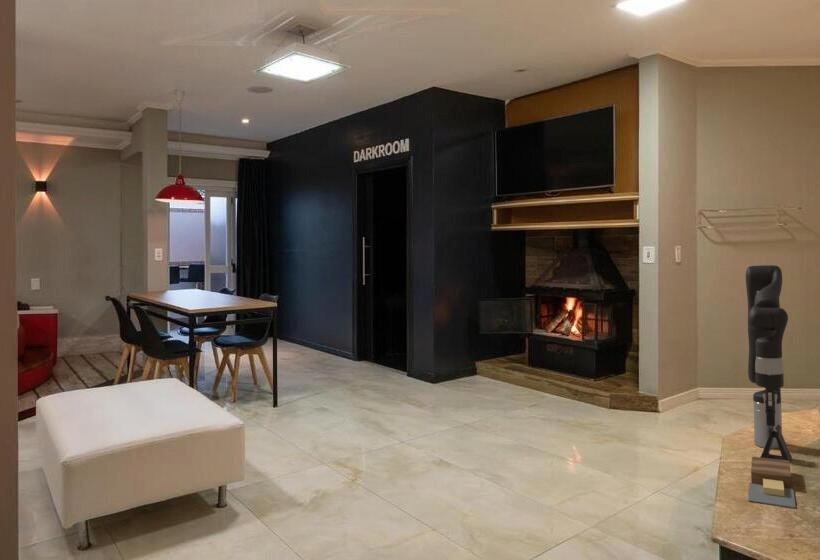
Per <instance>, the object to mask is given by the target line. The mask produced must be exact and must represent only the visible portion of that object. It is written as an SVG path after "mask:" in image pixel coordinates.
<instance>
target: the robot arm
mask: <svg viewBox="0 0 820 560" xmlns="http://www.w3.org/2000/svg"><path fill="white" fill-rule="evenodd" d="M745 286H746V288H745V289H746V296H747V335H748V336H747V337H748V363H747V365H748V366H747V367H748V368H747V375H748V379H749V382H750V383H753V384H756V385H757V386H758V387H761V388H764V389H763V390H760V391H756V392H753V395H752V396H753V397H752V398H753V399H752V401H753V428H754V429H753V431H754V432H753V434H754V435H753V436H754V437H753V438H754V439H753V440H754V445H756V446H757V447H759V448H763V449H764V448H765V445H766V443H767V441H768V438H769V435H770V434H769V430H770V428H771V427H772V426H774V427H773V429H774V430H775V431H776V432H777V430H776V429H775V428H776V427H777V425H778V424H779V425H780V426H781V433H782V434H783V423H782V422H783V420H782V417H783V416H782V415H783V414H782V393H781V390H782V389H781V388H783V387H784V386H785V384H784V383H785V381H784V380H785V377H784V361H783V340H784V334H785V331H786V327H787V325H788V321H789V315H788V313H787V311H786V310H785V309H784V308H782V307H781V305H780V298H781V297H780V296H781V292H782V288H783V287H782V286H783V272H782V269H781V267H780V266H778V265H774V264H773V265H772V264H771V265H766V264H765V265H750V266H748V267H747V268H746V271H745ZM771 449H774V450H775V449H776V450H777V449H779V446H778V443H777V439H776V438H773V442H772V445H771V448H770V450H771Z"/></svg>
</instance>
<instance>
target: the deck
mask: <svg viewBox="0 0 820 560" xmlns="http://www.w3.org/2000/svg"><path fill="white" fill-rule="evenodd" d="M760 457H761V456H760ZM760 457H759V456H751V466H750V467H751V470H750V472H751V475H750V476H751V480H750V481H751V482H750V483H754V484H761V485H763V478H764V479H772V480H780V481H783V485H784V488H791V489H793V488H792V471H791V464H790V462H791V461H790V462H789V461H787V460H778V459H769V458H760Z"/></svg>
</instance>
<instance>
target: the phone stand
mask: <svg viewBox="0 0 820 560" xmlns="http://www.w3.org/2000/svg"><path fill="white" fill-rule="evenodd" d="M773 427H774V426H772V427H771V428H770V430H769V434H770V435H769V438H768V441H767V443H766V445H765V448H763V451H762V452H761V455H760V458H769V459H778V460H787V461H789V462H791V460H792V459H793V457H792V455H791V452H790V450H789V448H788V445H787V443H786V440H785V438H784V436H783V432H782V433H781V426H780V425H779V424H778V425H777V427H776V428H775V429H776V430H777V432H776V431H775V430H774V429H773ZM773 438H776V439H777V443H778V446H779V448H778V449H779V451H780V454H781V455H780V454H779V455H777V454H772V453H770V452H771V449H770V448H771V445H772V442H773Z"/></svg>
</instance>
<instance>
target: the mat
mask: <svg viewBox="0 0 820 560" xmlns="http://www.w3.org/2000/svg"><path fill="white" fill-rule="evenodd" d="M748 485H749V486H748V488H749V489H748V502H749V501H754V502H753V503H755V502H759V503H758V504H761V503H764V504H763V505H768V504H769V506H775V507H776V506H777V507H783V508H788V509H796V507H797V506H796V499H795V493H794V492H795V491H794V488H792V489H791V488H784V496H777V495H770V494H764V493H763V485H761V484H754V483H751V482H749V484H748Z"/></svg>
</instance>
